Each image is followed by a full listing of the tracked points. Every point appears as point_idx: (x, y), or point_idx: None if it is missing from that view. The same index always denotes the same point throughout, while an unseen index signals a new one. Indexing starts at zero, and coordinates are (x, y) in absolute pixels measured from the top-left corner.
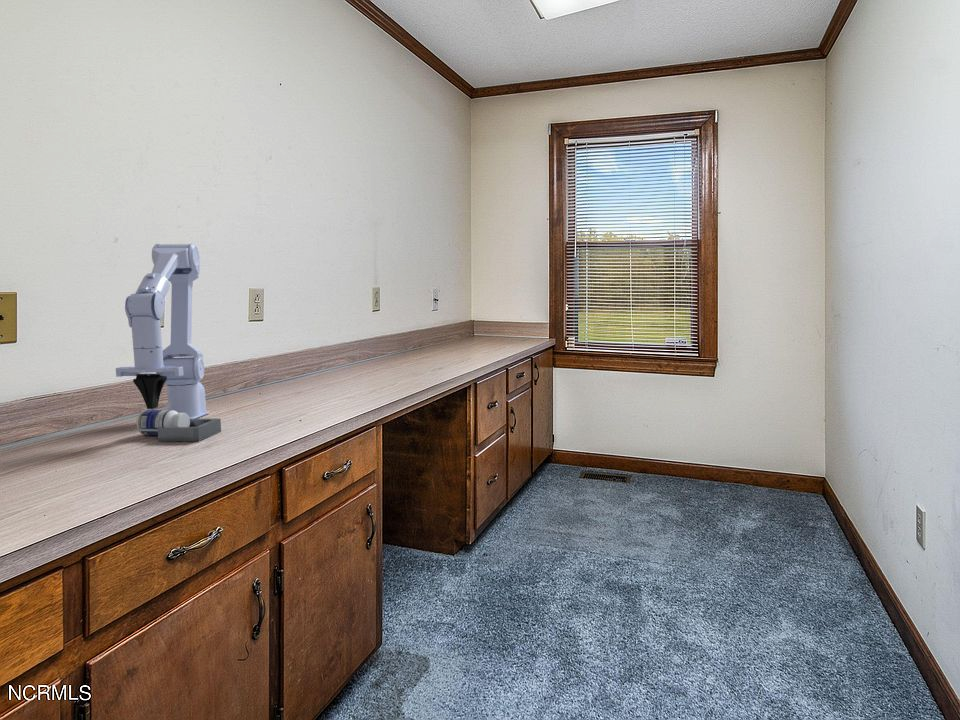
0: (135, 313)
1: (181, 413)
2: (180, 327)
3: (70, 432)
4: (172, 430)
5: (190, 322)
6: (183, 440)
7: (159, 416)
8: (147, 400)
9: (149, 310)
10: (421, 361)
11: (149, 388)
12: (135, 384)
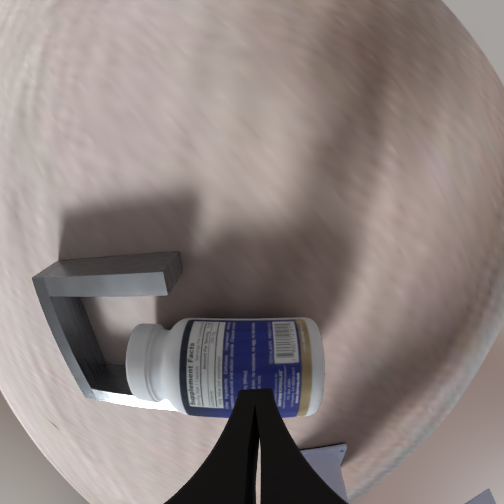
0: None
1: (130, 384)
2: None
3: (498, 315)
4: (107, 270)
5: None
6: (94, 259)
7: (207, 362)
8: (257, 419)
9: None
10: None
11: (220, 482)
12: (337, 499)
